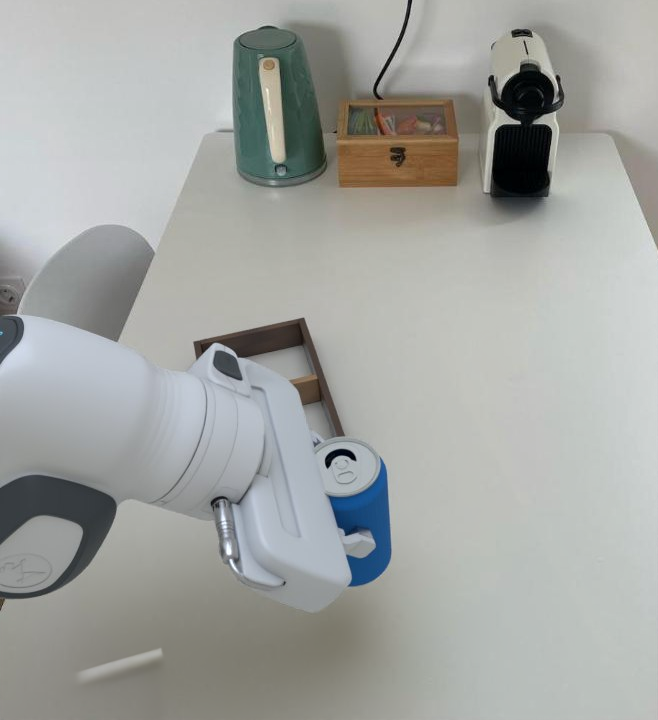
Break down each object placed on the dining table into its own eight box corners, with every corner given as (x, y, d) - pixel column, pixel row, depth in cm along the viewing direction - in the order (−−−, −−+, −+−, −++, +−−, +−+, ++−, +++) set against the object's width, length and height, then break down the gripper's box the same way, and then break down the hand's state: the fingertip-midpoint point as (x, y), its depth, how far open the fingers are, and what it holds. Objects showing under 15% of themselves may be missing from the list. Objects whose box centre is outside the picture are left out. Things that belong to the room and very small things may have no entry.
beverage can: (379, 517, 71) (372, 423, 63) (401, 579, 66) (397, 486, 58) (306, 537, 69) (290, 444, 61) (324, 601, 65) (309, 510, 57)
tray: (223, 497, 84) (216, 474, 82) (199, 363, 99) (193, 341, 97) (349, 464, 87) (347, 442, 84) (307, 339, 102) (304, 317, 100)
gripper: (258, 547, 46) (422, 594, 55) (214, 327, 61) (350, 391, 69) (194, 610, 48) (362, 645, 57) (167, 383, 63) (304, 438, 71)
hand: (355, 504), depth 63 cm, fingers closed on beverage can, 6 cm apart
